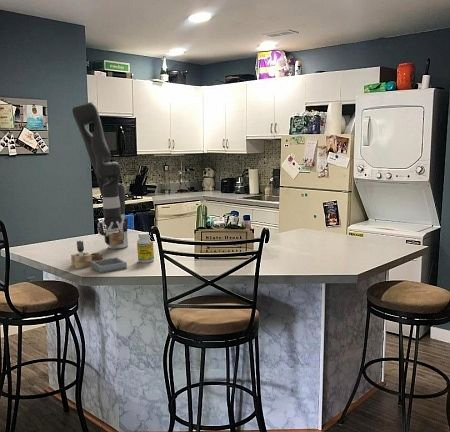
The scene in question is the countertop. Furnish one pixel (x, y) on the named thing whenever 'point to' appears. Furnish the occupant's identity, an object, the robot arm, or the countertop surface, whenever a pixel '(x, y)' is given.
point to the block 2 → (115, 238)
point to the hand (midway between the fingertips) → (114, 242)
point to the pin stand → (96, 256)
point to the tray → (108, 265)
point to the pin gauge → (80, 247)
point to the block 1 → (81, 260)
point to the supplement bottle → (145, 248)
